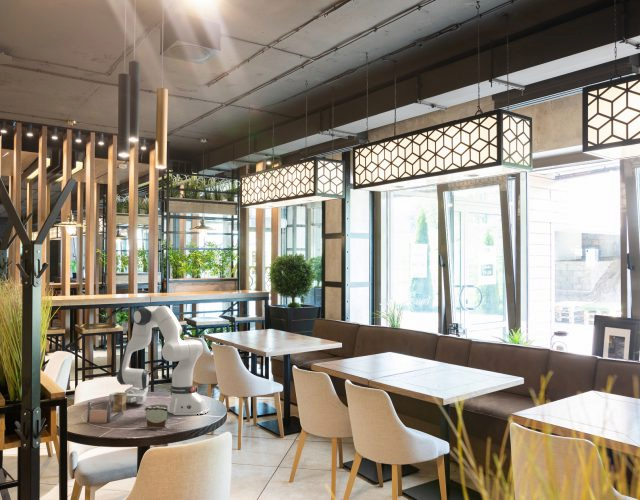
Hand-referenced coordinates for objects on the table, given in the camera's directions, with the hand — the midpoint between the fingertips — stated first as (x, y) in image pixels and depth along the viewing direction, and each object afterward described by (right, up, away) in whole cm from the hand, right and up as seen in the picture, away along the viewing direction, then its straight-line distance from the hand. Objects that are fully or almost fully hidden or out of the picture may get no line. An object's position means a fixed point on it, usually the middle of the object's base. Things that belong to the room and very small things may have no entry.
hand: (121, 400), depth 309 cm
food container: (+30, -4, -32) cm, 44 cm away
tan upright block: (0, -5, -2) cm, 5 cm away
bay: (-2, -4, -18) cm, 19 cm away
